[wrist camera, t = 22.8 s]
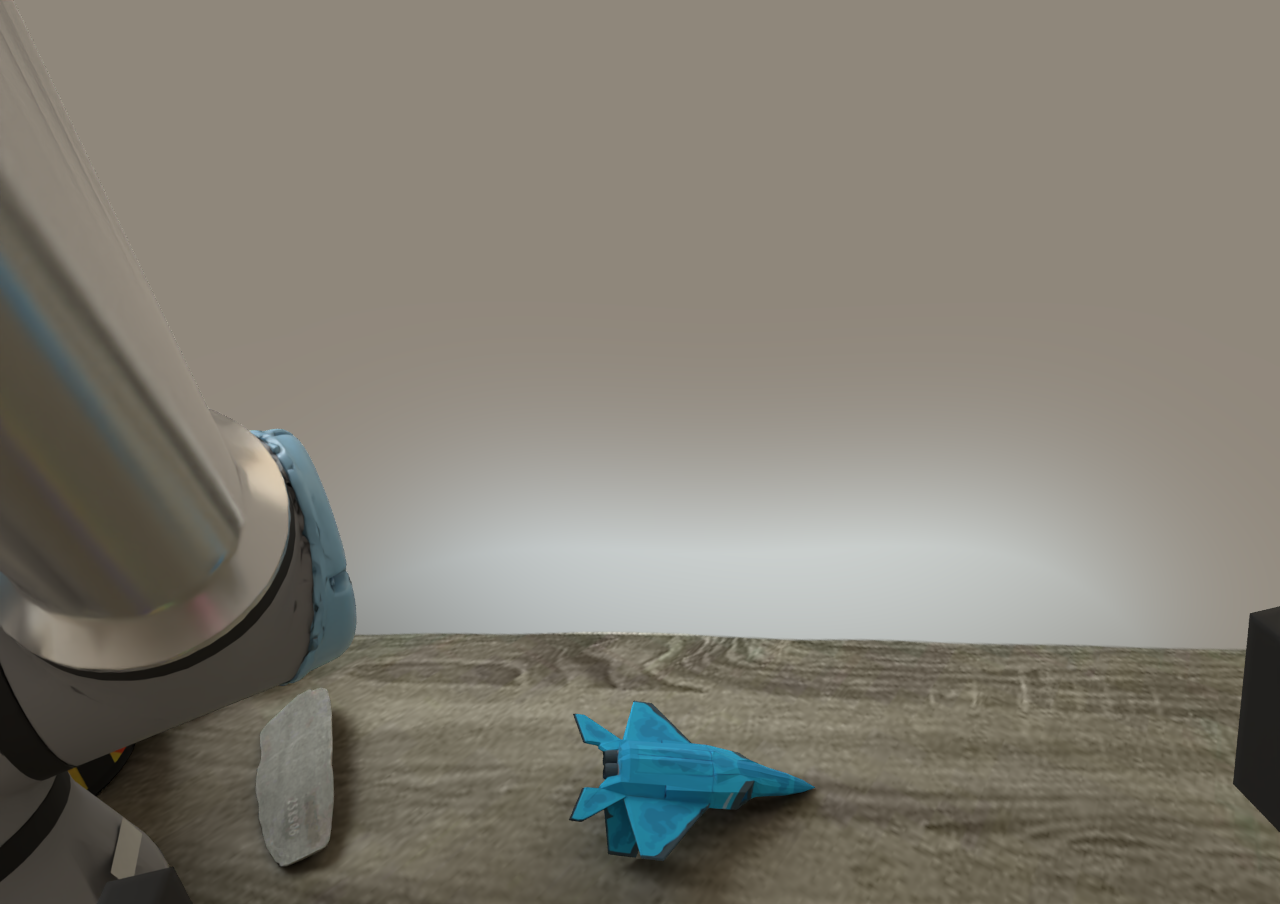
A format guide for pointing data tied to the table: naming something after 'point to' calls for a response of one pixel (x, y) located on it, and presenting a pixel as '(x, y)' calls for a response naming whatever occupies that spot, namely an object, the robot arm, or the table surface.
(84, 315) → the robot arm
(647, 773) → the toy airplane
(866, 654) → the table surface
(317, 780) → the stone tool
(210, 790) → the table surface
